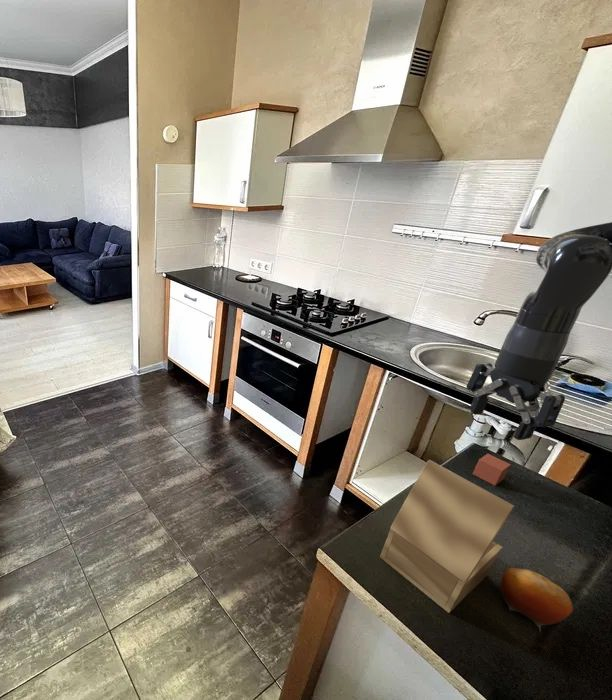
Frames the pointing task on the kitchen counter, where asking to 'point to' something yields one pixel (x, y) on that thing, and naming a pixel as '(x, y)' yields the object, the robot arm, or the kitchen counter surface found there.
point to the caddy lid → (451, 519)
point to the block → (491, 469)
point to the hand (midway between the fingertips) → (496, 425)
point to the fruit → (535, 596)
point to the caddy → (434, 571)
